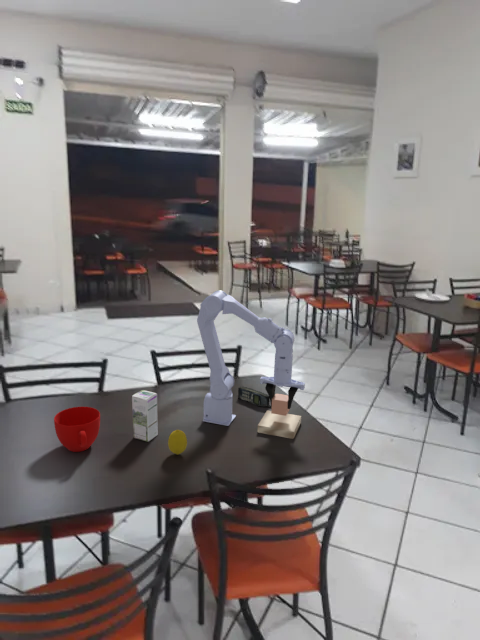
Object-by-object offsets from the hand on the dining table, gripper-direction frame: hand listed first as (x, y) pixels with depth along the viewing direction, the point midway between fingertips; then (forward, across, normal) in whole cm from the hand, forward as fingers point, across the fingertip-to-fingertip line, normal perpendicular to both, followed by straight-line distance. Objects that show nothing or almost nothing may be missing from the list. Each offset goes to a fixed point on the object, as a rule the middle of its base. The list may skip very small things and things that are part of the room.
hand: (280, 406), depth 157 cm
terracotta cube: (+2, 0, 0) cm, 2 cm away
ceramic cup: (+8, -52, -36) cm, 64 cm away
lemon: (+8, -24, -28) cm, 38 cm away
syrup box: (+8, -38, -22) cm, 45 cm away
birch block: (+8, 0, 0) cm, 8 cm away
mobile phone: (+8, -13, +16) cm, 22 cm away
